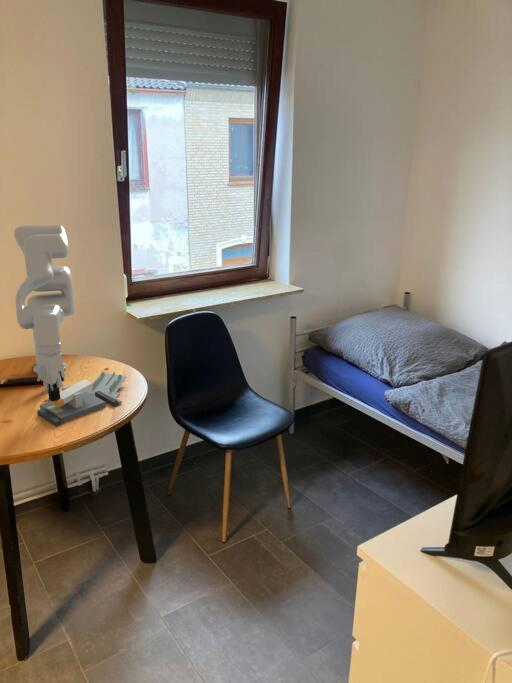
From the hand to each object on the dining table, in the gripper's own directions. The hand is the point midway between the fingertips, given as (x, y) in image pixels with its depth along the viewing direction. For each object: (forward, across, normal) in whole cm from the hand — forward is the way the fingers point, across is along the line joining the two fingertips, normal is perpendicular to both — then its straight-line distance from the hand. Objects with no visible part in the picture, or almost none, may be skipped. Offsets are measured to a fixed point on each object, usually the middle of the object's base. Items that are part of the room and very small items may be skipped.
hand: (54, 399), depth 181 cm
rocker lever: (+1, -1, +7) cm, 7 cm away
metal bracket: (+6, -7, +24) cm, 26 cm away
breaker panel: (+6, -1, +7) cm, 9 cm away
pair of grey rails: (+6, +2, +8) cm, 10 cm away
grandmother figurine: (+6, -20, +8) cm, 22 cm away
